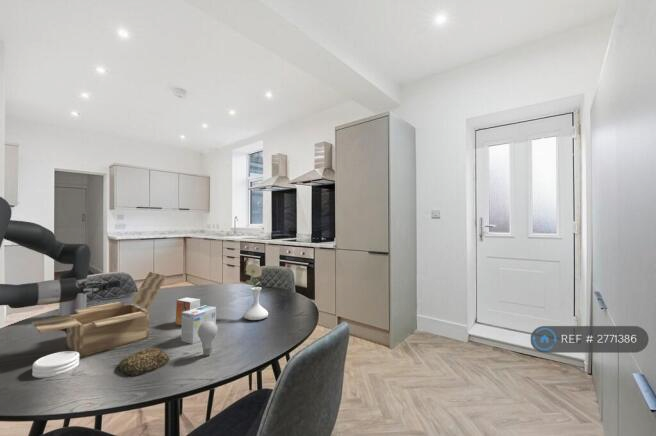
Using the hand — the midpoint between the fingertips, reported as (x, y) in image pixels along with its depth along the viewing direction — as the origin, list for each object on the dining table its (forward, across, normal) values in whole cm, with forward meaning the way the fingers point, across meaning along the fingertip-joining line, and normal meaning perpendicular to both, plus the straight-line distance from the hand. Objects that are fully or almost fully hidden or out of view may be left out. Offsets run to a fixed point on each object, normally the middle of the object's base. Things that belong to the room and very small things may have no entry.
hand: (119, 283), depth 106 cm
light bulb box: (+19, -22, +21) cm, 36 cm away
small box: (+24, -4, +21) cm, 32 cm away
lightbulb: (+13, -38, +21) cm, 45 cm away
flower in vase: (+47, -20, +21) cm, 55 cm away
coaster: (-19, -12, +21) cm, 31 cm away
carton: (-7, 0, +21) cm, 22 cm away
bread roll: (-2, -29, +21) cm, 36 cm away
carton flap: (+7, 0, +10) cm, 12 cm away
